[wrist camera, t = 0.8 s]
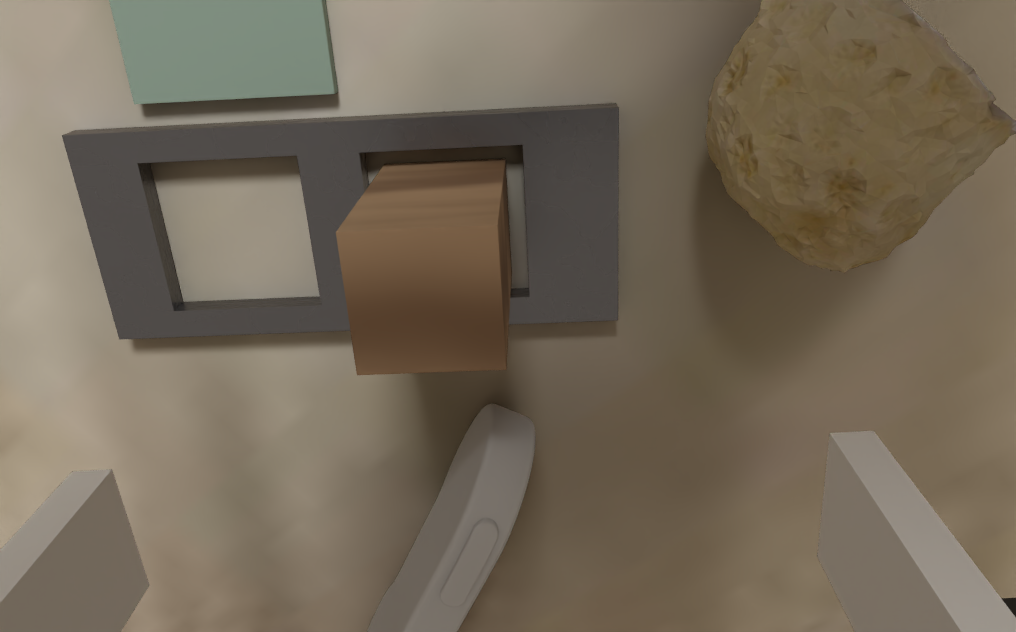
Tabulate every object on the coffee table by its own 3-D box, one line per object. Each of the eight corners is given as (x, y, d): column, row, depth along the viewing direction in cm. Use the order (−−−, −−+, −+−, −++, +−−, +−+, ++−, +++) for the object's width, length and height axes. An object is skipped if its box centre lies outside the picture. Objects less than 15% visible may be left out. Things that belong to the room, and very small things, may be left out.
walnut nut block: (384, 164, 33) (335, 232, 24) (505, 158, 32) (497, 225, 24) (397, 277, 35) (357, 374, 26) (511, 272, 34) (506, 369, 26)
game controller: (392, 663, 44) (364, 808, 37) (354, 650, 44) (318, 794, 36) (540, 388, 37) (544, 499, 29) (496, 370, 37) (487, 477, 29)
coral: (1159, 81, 24) (965, 333, 23) (897, 108, 33) (753, 287, 33) (1009, -184, 21) (776, 99, 20) (766, -70, 30) (601, 124, 29)
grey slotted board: (75, 130, 32) (61, 135, 31) (615, 103, 31) (618, 107, 30) (130, 329, 36) (119, 339, 35) (615, 310, 35) (617, 320, 34)
